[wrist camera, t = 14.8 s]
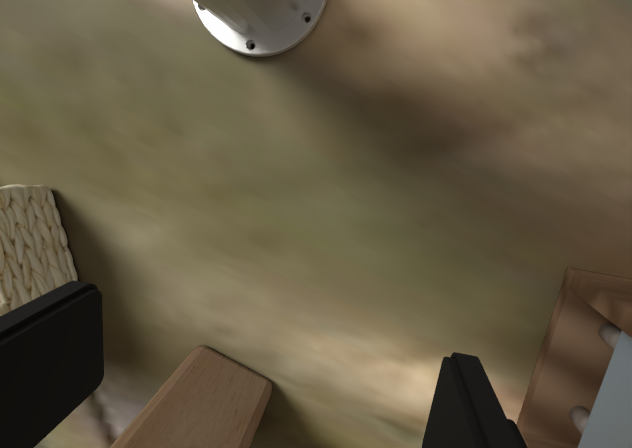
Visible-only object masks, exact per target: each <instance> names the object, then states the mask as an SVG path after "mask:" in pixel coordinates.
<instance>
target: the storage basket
mask: <svg viewBox="0 0 632 448" xmlns="http://www.w3.org/2000/svg"><path fill="white" fill-rule="evenodd" d="M67 244H68V241H67V236H66V233H65V231H64V229H63V227H62V225H61V219H60V214H59V211H58V210H57V208H56V206H55V201H54V197H53V194H52V192H51V190H50V189H49V188H48V187H47V186H45V185H35V186H28V185H21V184H18V185H7V186H4V187H0V316H2V315H4V314H6V313H8V312H10V311H12V310H14V309H16V308H18V307H20V306H22V305H24V304H26V303H28V302H30V301H32V300H34V299H36V298H38V297H40V296H42V295H44V294H46V293H48V292H50V291H52V290H54V289H56V288H58V287H60V286H62V285H64V284H66V283H68V282H70V281H77V280H78V277H77V273H76V270H75V267H74V265H73V258H72V255H71V252H70V250H69V249H68V247H67Z"/></svg>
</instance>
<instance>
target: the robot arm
mask: <svg viewBox="0 0 632 448" xmlns="http://www.w3.org/2000/svg"><path fill="white" fill-rule="evenodd" d="M192 2H193V4H194V7H195V10H196V13H197V15H198V16H199V18H200V20H201V22H202V23H203V25H204V26H205V28H206V29H207V30H208V31H209V32H210V34H211V35H212V36H213V37H214V38H215V39H217V40H218V41H219V42H220V43H222V44H223V45H224V46H226V47H228V48H229V49H231V50H233V51H236V52H238V53H241V54H243V55H248V56H253V57H269V56H273V55H277V54H281V53H283V52H285V51H287V50H289V49H291V48H293V47H295V46H296V45H297V44H299V43H300V42H301V41H303V40H304V39H305V38H306V37H307V35H308V34H309V33H310V32H311V31H312V30H313V29H314V27H315V25H316V24H317V22H318V21H319V19H320V17H321V15H322V13H323V10H324V8H325V6H326V3H327V0H192ZM204 9H205V10H204ZM306 18H311V20H310V22H309V23H307V22H306V21H305V20H306ZM252 45H255V48H254V49H253V50H252V49H251V46H252ZM103 376H104V360H103V320H102V294H101V292H100V291H98V289H97V287H96V286H95V285H94V284H90V283H85V282H79V281H70V282H68V283H66V284H64V285H62V286H60V287H58V288H56V289H54V290H52V291H50V292H48V293H46V294H44V295H42V296H40V297H38V298H36V299H34V300H32V301H30V302H28V303H26V304H24V305H22V306H20V307H18V308H16V309H14V310H12V311H10V312H8V313H6V314H4V315H2V316H0V448H34V447H35V446H36V445H37V444H38V443H39V442H40V441H41V440H42V439H43V438H45V437H46V436H47V435H48V434H49V433H50V432H51V431H52V430H53V429H54V428H55V427H56V426H57V425H58V424H59V423H60V422H62V421H63V420H64V419H65V418H66V417H67V416H68V415H69V414H70V413H71V412H72V411H73V410H74V409H75V408H76V407H78V406H79V405H80V404H81V403H82V402H83V401H84V400H85V399H86V398H87V397H88V396H89V395H90V394H91V393H92V392H93V391H95V390H96V389H97V388H98V386H99V385H100V383H101V382H102V379H103ZM422 448H528V447H527V445H526V443H525V441H524V439H523V437H522V435H521V433H520V431H519V429H518V427H517V425H516V424H515V422H513V421H512V420H510V419H507V418H506V416H505V414H504V412H503V410H502V407H501V405H500V403H499V401H498V399H497V397H496V394H495V392H494V390H493V388H492V386H491V384H490V381H489V379H488V377H487V375H486V373H485V371H484V369H483V366H482V364H481V362H480V360H479V358H478V357H476V356H471V355H466V354H461V353H455V352H454V353H452V355H451V358H450V357H444V358H443V361H442V365H441V369H440V373H439V377H438V381H437V385H436V389H435V394H434V398H433V402H432V406H431V410H430V414H429V418H428V422H427V426H426V430H425V435H424V439H423V443H422Z"/></svg>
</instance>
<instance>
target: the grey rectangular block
mask: <svg viewBox="0 0 632 448" xmlns="http://www.w3.org/2000/svg"><path fill="white" fill-rule="evenodd" d="M578 448H632V338H631V337H630V336H629V335H627V334H626V333H625V332H624V331H622V332H621V334H620V337H619V339H618V342H617V345H616V347H615V350H614V353H613V355H612V358H611V361H610V363H609V366H608V369H607V371H606V374H605V376H604V379H603V382H602V384H601V387H600V390H599V392H598V395H597V398H596V400H595V403H594V406H593V408H592V411H591V413H590V416H589V419H588V421H587V424H586V427H585V429H584V432H583V435H582V437H581V440H580V443H579V445H578Z"/></svg>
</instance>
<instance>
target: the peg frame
mask: <svg viewBox="0 0 632 448" xmlns="http://www.w3.org/2000/svg"><path fill="white" fill-rule="evenodd" d="M622 331H624V332H625V333H626V334H627V335H629V336H630V337H631V338H632V279H629V278H623V277H617V276H612V275H606V274H600V273H595V272H589V271H583V270H578V269H572V268H567V271H566V274H565V277H564V280H563V284H562V287H561V290H560V293H559V296H558V299H557V302H556V305H555V308H554V311H553V314H552V317H551V320H550V323H549V326H548V330H547V333H546V336H545V339H544V342H543V345H542V348H541V351H540V354H539V357H538V360H537V363H536V366H535V369H534V373H533V376H532V379H531V382H530V385H529V388H528V391H527V394H526V397H525V400H524V403H523V406H522V409H521V412H520V415H519V419H518V422H517V427H518V429H519V431H520V433H521V435H522V437H523V439H524V441H525V443H526V445H527V447H528V448H578V445H579V443H580V440H581V437H582V435H583V432H584V429H585V427H586V424H587V421H588V419H589V416H590V413H591V411H592V408H593V406H594V403H595V400H596V398H597V395H598V392H599V390H600V387H601V384H602V382H603V379H604V376H605V374H606V371H607V369H608V366H609V363H610V361H611V358H612V355H613V353H614V350H615V347H616V345H617V342H618V339H619V337H620V334H621V332H622Z"/></svg>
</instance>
